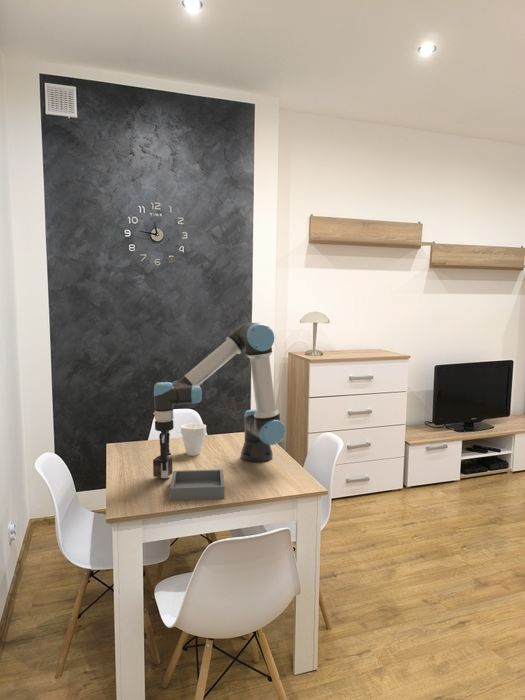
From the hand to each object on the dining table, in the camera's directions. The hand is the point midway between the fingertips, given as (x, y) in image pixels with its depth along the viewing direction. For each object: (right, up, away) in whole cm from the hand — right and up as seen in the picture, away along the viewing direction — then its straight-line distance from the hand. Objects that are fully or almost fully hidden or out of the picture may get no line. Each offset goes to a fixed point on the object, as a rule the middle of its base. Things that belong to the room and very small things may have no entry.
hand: (165, 474), depth 204 cm
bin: (+15, -3, -12) cm, 20 cm away
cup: (+7, +1, +36) cm, 37 cm away
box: (-1, -1, 0) cm, 1 cm away
